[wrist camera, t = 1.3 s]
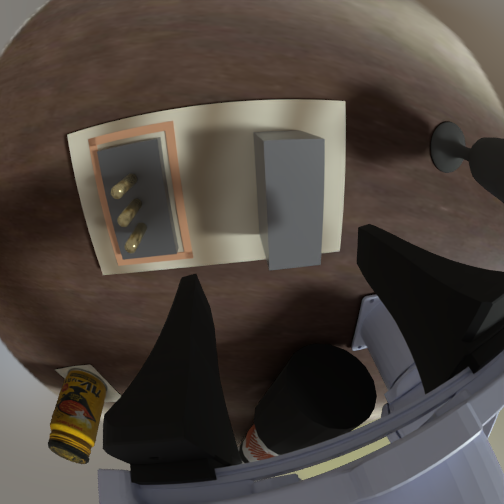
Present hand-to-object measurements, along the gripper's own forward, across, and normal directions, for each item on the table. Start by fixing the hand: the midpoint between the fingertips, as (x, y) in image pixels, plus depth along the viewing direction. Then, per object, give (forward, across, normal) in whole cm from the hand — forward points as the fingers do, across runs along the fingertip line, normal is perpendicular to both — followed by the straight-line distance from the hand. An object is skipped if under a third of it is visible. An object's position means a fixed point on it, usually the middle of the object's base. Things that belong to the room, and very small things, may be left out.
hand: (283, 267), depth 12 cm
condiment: (+10, +26, +21) cm, 35 cm away
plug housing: (+9, -2, 0) cm, 10 cm away
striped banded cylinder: (+7, +4, +34) cm, 34 cm away
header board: (+11, +2, 0) cm, 11 cm away
